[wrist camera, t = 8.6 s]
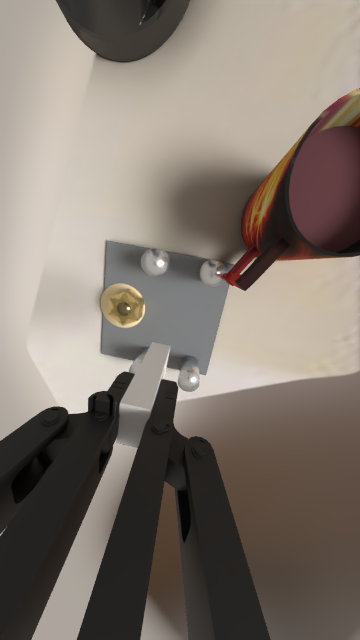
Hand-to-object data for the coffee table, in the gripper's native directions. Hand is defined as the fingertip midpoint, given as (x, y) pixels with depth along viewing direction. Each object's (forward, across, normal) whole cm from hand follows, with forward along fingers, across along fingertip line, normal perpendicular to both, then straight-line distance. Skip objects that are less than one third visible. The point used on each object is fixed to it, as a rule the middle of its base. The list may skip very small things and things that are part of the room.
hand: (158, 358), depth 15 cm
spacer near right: (+14, +4, +7) cm, 16 cm away
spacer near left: (+14, -3, +7) cm, 16 cm away
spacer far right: (+14, +4, -8) cm, 16 cm away
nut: (+14, -7, 0) cm, 16 cm away
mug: (+14, +10, +12) cm, 22 cm away
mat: (+14, -2, -1) cm, 14 cm away
